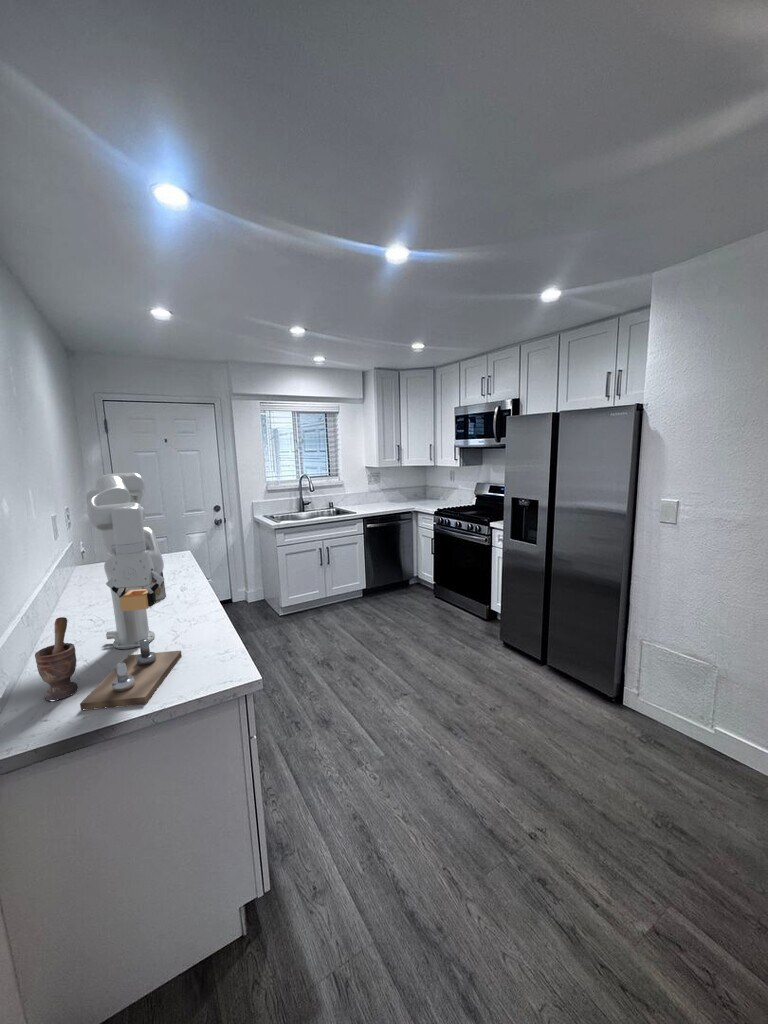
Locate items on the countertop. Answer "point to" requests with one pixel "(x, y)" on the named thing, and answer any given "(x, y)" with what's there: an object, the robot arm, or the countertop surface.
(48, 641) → the countertop surface
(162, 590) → the coffee box
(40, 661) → the mortar and pestle
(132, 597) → the collar
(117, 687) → the silver round flared piece
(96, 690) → the board
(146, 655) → the shiny metal knob
